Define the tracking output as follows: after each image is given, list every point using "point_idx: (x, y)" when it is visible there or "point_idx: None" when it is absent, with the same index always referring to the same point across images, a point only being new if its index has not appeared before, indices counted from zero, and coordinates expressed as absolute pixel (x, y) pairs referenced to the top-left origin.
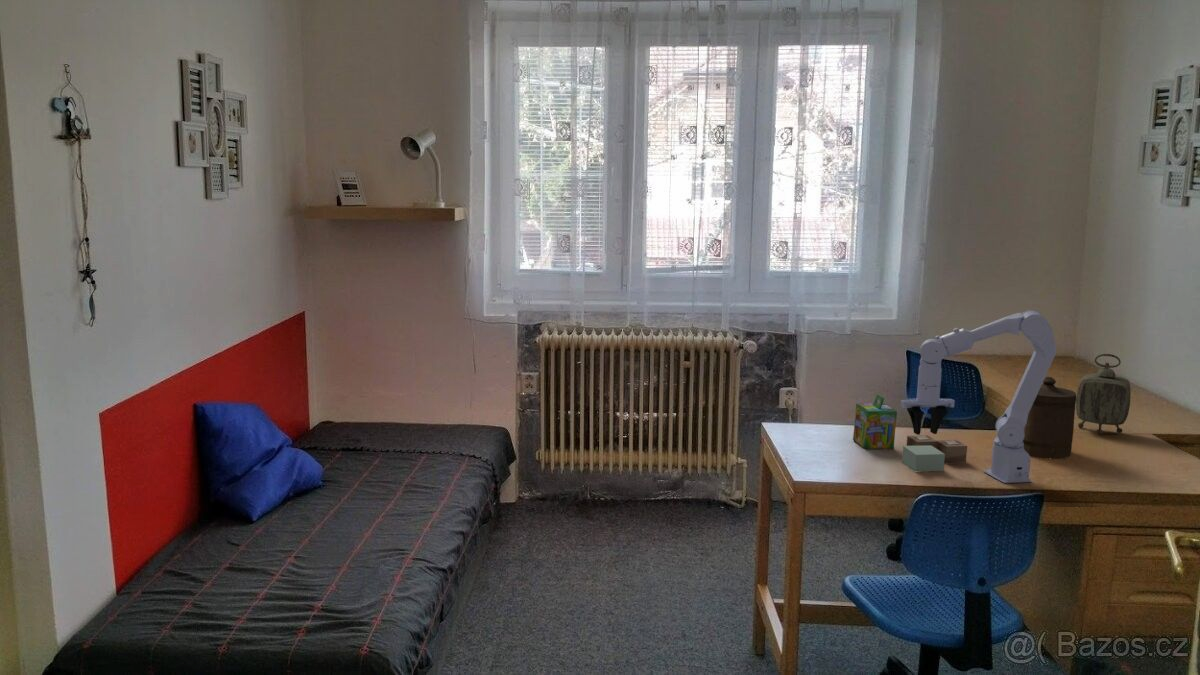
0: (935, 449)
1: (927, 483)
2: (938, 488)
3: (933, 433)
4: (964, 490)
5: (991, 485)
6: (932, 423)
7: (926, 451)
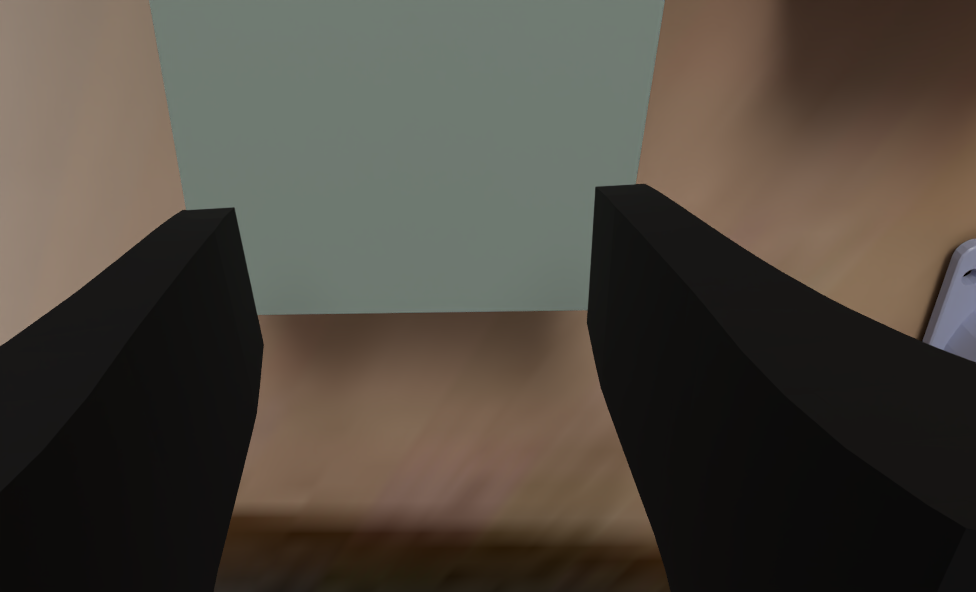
0: (614, 109)
1: (251, 469)
2: (299, 552)
3: (588, 299)
4: (478, 579)
5: None
6: (656, 346)
7: (420, 194)
